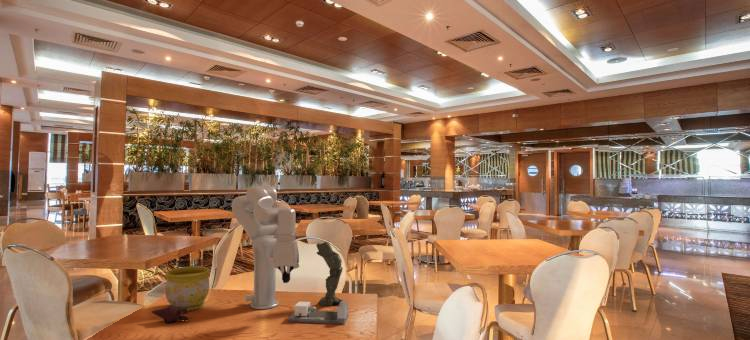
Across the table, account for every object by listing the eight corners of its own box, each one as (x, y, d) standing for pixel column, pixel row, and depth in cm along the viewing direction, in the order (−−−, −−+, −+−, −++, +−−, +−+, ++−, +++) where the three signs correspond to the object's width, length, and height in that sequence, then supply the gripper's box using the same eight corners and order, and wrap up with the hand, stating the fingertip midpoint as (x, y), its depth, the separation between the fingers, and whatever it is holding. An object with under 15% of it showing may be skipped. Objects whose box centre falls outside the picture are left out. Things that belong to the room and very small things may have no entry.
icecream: (145, 309, 151) (183, 313, 151) (156, 299, 158) (192, 302, 158) (146, 324, 153) (183, 328, 152) (157, 314, 160) (193, 317, 160)
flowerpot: (216, 301, 182) (216, 266, 182) (197, 314, 164) (198, 275, 164) (178, 300, 182) (179, 265, 183) (155, 313, 164) (156, 275, 165)
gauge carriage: (293, 317, 156) (293, 307, 156) (298, 310, 164) (299, 301, 164) (312, 318, 155) (312, 308, 156) (317, 311, 163) (317, 302, 163)
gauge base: (288, 321, 156) (288, 305, 156) (295, 313, 166) (295, 298, 166) (344, 324, 154) (344, 307, 154) (348, 315, 164) (348, 300, 164)
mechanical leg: (351, 300, 182) (337, 237, 184) (349, 304, 175) (334, 240, 177) (323, 305, 184) (309, 244, 185) (320, 310, 177) (305, 246, 178)
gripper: (265, 239, 159) (265, 284, 158) (301, 239, 158) (300, 284, 157) (272, 236, 167) (272, 279, 166) (306, 237, 165) (306, 280, 164)
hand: (286, 282), depth 161 cm, fingers closed
